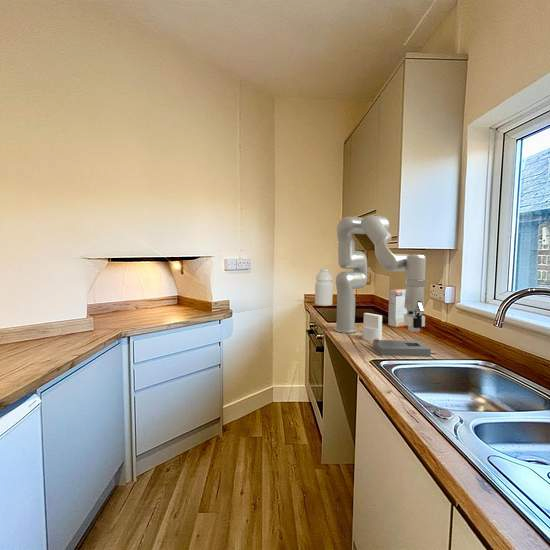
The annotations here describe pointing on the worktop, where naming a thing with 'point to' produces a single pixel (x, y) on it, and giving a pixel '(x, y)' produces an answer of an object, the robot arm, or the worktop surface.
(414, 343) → the socket plate
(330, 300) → the bottle
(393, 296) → the cracker box
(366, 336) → the base with upright slab
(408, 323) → the plug
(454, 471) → the worktop surface
